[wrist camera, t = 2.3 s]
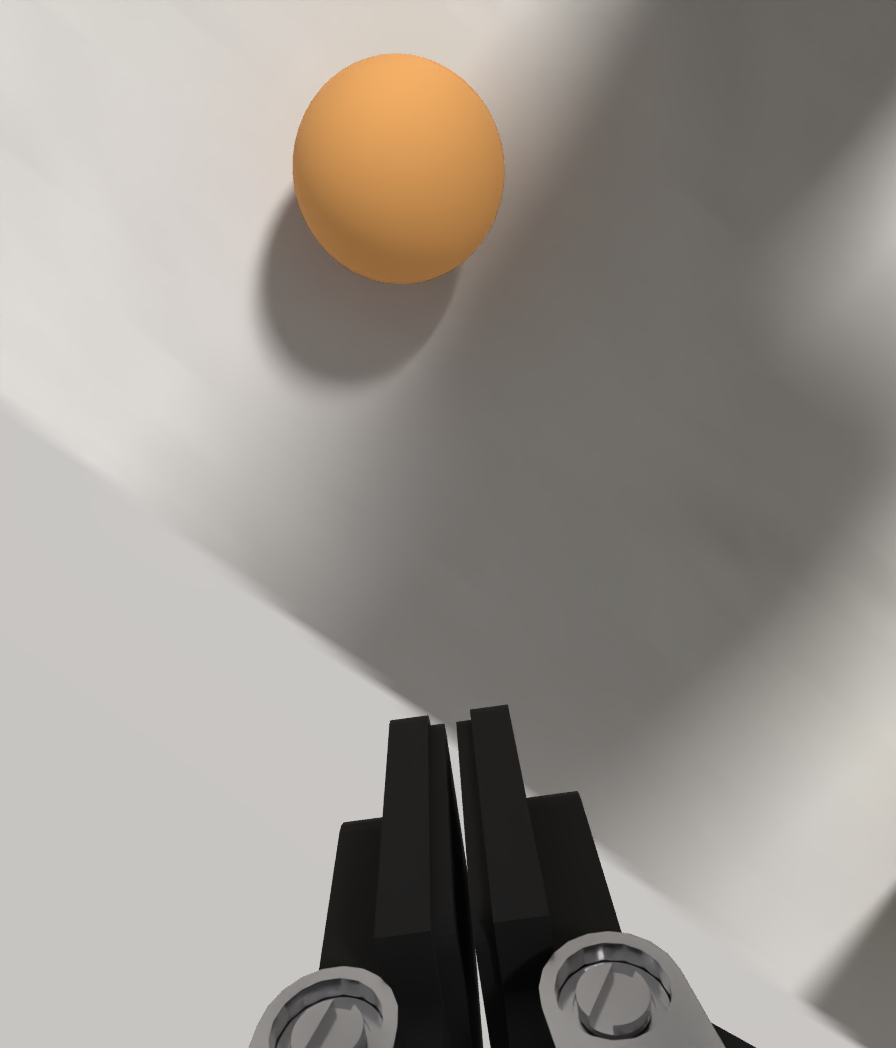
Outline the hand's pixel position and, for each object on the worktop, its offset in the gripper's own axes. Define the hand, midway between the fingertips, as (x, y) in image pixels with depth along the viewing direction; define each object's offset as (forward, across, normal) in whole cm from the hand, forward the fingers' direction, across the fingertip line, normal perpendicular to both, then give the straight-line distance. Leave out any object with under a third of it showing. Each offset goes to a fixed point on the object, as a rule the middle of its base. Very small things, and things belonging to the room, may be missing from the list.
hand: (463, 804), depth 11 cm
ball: (+14, 0, -10) cm, 17 cm away
